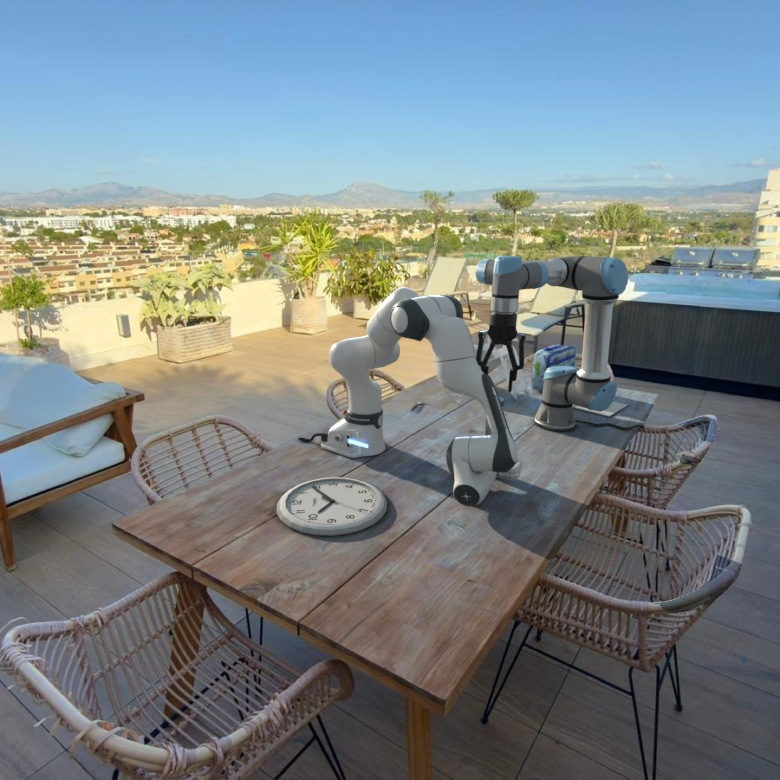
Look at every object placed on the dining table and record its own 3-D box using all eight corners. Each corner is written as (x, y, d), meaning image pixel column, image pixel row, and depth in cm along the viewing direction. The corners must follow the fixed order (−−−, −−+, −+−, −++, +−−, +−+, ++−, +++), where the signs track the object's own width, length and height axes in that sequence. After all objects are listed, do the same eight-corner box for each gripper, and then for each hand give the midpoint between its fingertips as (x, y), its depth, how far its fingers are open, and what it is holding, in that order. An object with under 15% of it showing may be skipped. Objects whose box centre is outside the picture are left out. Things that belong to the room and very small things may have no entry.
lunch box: (547, 397, 237) (552, 352, 231) (526, 391, 245) (531, 348, 238) (574, 386, 255) (580, 344, 249) (554, 381, 262) (559, 340, 256)
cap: (487, 405, 156) (487, 400, 155) (491, 401, 159) (491, 396, 159) (501, 408, 154) (502, 402, 153) (505, 404, 157) (505, 398, 157)
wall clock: (392, 527, 129) (268, 531, 127) (391, 533, 130) (269, 537, 127) (383, 473, 158) (282, 475, 155) (383, 478, 158) (282, 480, 156)
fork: (408, 411, 216) (408, 407, 215) (419, 400, 230) (419, 396, 229) (414, 412, 215) (414, 407, 214) (425, 401, 229) (425, 396, 229)
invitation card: (608, 416, 214) (573, 407, 224) (608, 416, 214) (573, 408, 224) (628, 404, 229) (594, 396, 238) (628, 405, 229) (594, 397, 238)
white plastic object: (461, 429, 252) (437, 405, 227) (444, 352, 274) (420, 323, 250) (535, 404, 240) (518, 377, 215) (510, 326, 262) (492, 293, 237)
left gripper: (519, 468, 145) (527, 450, 157) (448, 455, 153) (462, 438, 165) (516, 489, 147) (525, 469, 159) (447, 474, 155) (460, 457, 167)
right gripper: (540, 312, 148) (532, 390, 155) (472, 308, 155) (467, 382, 162) (538, 316, 142) (530, 397, 149) (467, 311, 148) (462, 389, 155)
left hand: (492, 453), depth 162 cm, fingers closed on bottle, 5 cm apart
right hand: (497, 389), depth 155 cm, fingers open, 7 cm apart
